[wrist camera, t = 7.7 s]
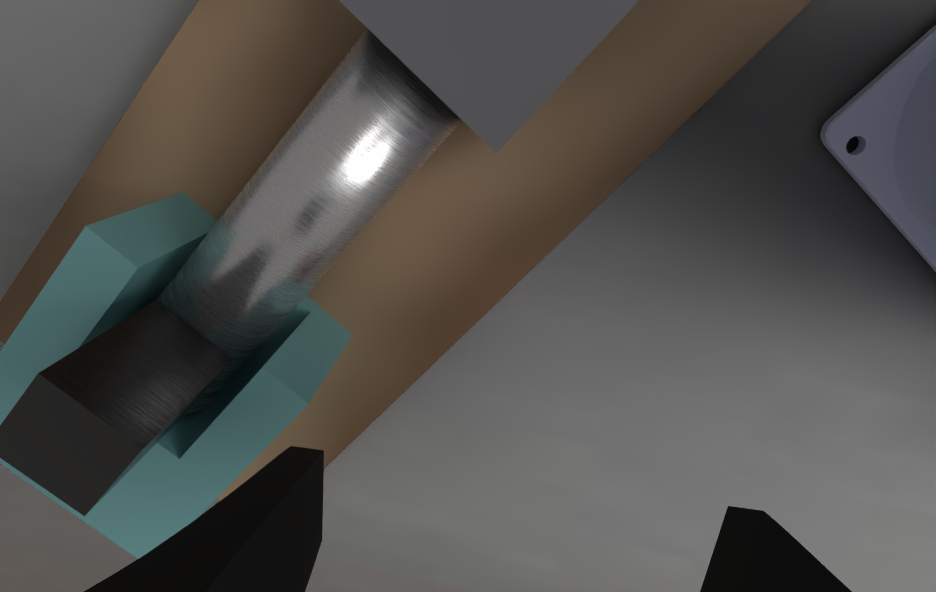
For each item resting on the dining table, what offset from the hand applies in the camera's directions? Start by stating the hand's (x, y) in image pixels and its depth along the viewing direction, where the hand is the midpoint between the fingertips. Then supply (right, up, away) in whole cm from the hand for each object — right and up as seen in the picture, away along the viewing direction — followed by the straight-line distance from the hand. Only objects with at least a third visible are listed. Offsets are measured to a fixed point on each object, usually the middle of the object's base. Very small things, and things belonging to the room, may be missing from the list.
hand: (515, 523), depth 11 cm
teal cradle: (-10, +2, +9) cm, 14 cm away
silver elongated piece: (-5, +7, +6) cm, 11 cm away
